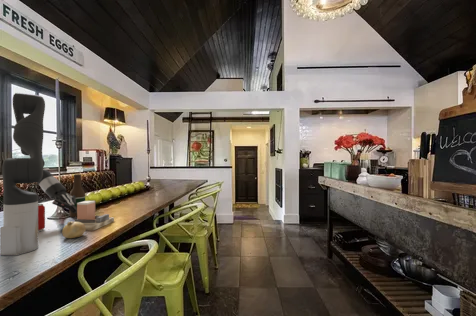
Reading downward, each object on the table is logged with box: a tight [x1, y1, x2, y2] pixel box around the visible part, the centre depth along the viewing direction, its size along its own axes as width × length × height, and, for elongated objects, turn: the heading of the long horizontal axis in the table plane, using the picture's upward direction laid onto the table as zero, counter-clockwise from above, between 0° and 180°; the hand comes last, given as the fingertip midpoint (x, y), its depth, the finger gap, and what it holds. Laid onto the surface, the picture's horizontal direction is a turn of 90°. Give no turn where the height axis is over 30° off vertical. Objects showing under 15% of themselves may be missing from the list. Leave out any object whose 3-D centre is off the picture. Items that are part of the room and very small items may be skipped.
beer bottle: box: [68, 173, 86, 218], centre depth 136 cm, size 8×8×24 cm
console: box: [63, 213, 115, 232], centre depth 116 cm, size 16×14×4 cm
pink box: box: [76, 200, 96, 220], centre depth 118 cm, size 6×5×9 cm
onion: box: [61, 220, 87, 239], centre depth 99 cm, size 8×8×7 cm
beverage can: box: [38, 203, 46, 233], centre depth 108 cm, size 6×6×12 cm
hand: (76, 211), depth 118 cm, fingers closed
